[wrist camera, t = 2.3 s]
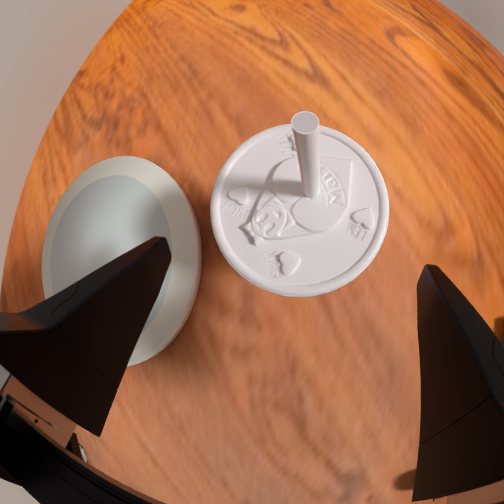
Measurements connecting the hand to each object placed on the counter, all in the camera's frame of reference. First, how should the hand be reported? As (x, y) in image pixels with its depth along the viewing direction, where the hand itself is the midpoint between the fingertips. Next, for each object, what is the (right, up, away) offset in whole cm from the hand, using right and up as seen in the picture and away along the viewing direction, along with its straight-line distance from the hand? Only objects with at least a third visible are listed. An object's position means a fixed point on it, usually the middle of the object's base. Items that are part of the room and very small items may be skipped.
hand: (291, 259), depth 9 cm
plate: (-14, 0, +13) cm, 19 cm away
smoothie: (+2, +1, +10) cm, 10 cm away
